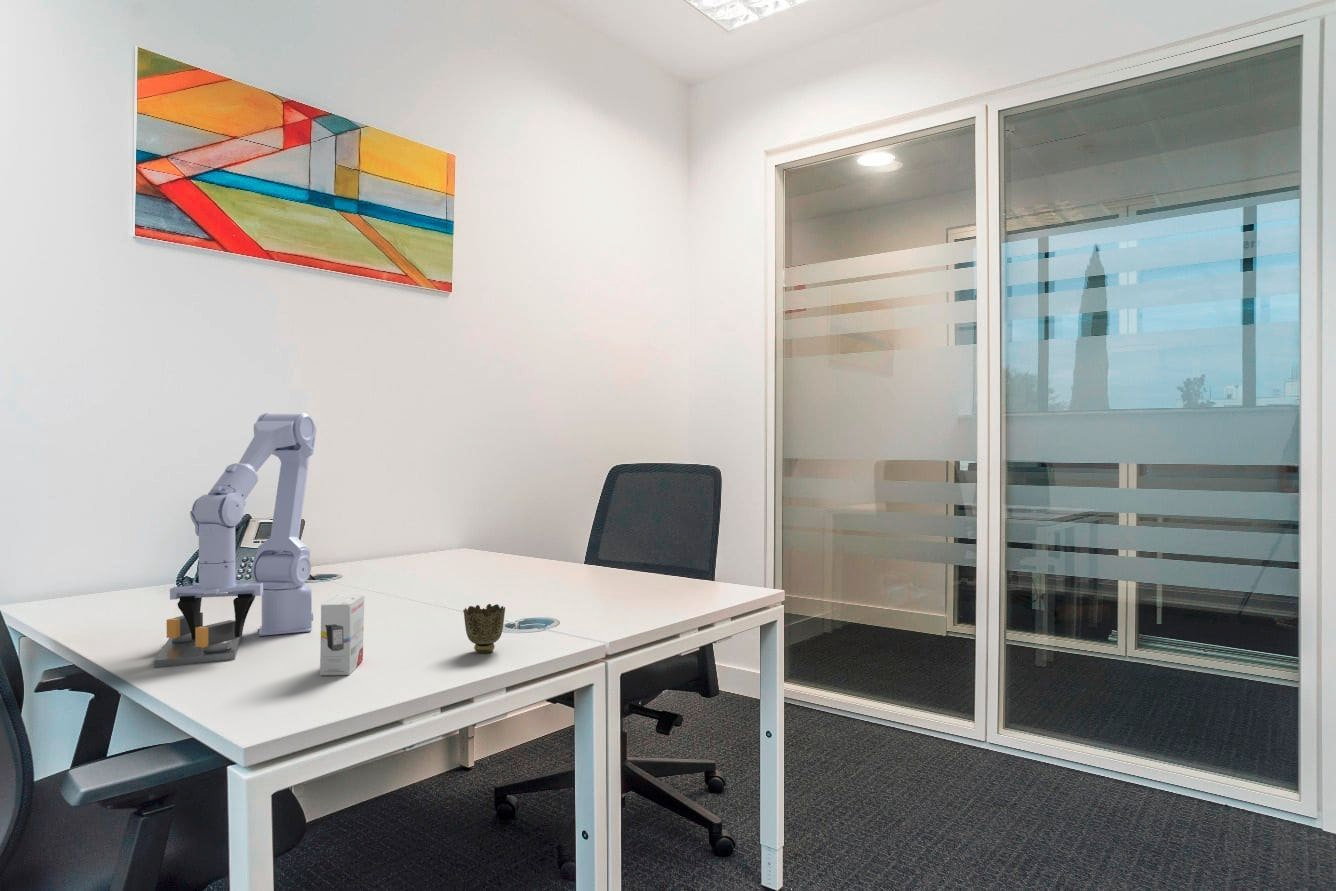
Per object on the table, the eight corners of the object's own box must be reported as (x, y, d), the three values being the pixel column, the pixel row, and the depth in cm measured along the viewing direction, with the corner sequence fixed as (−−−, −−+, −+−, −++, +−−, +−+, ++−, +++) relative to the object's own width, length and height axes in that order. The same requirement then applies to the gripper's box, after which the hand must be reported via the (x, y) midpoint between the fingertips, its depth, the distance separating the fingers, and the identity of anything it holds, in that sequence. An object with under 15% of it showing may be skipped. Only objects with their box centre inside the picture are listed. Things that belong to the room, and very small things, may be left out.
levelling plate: (241, 636, 155) (241, 621, 155) (234, 659, 139) (234, 642, 139) (170, 642, 150) (170, 627, 150) (154, 667, 134) (154, 649, 134)
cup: (463, 658, 140) (463, 613, 140) (463, 647, 147) (463, 604, 147) (506, 655, 142) (506, 610, 142) (503, 645, 149) (503, 602, 149)
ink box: (335, 662, 137) (335, 594, 137) (365, 661, 138) (365, 593, 138) (318, 677, 129) (318, 604, 129) (350, 676, 129) (350, 604, 129)
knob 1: (188, 634, 151) (188, 611, 151) (208, 635, 151) (208, 612, 151) (160, 643, 145) (160, 619, 145) (181, 644, 144) (181, 620, 144)
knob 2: (224, 643, 145) (224, 619, 145) (242, 645, 143) (241, 621, 143) (190, 652, 139) (190, 627, 139) (208, 654, 137) (208, 629, 137)
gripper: (163, 566, 135) (163, 645, 136) (256, 563, 139) (256, 640, 139) (177, 560, 142) (177, 635, 142) (265, 557, 146) (266, 630, 146)
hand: (217, 637), depth 141 cm, fingers open, 6 cm apart
